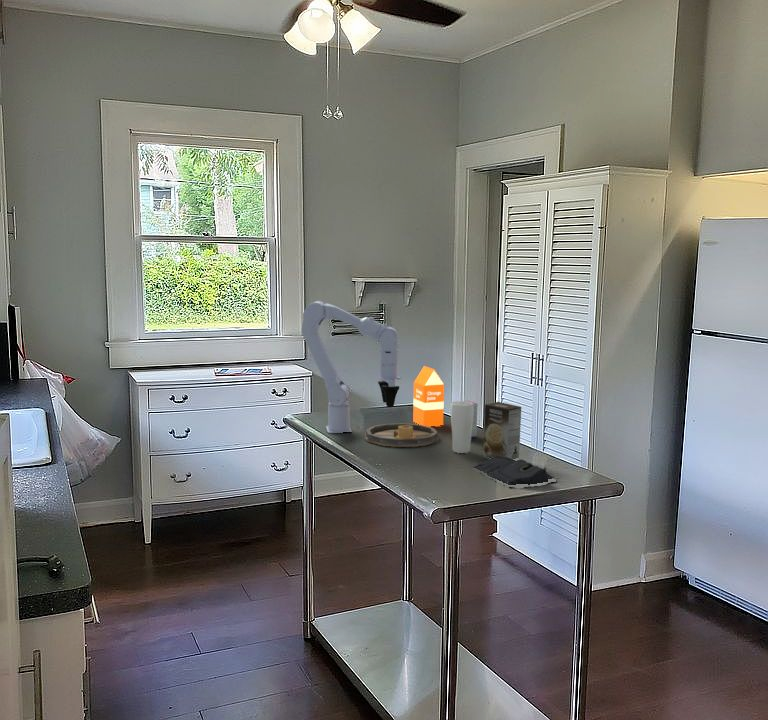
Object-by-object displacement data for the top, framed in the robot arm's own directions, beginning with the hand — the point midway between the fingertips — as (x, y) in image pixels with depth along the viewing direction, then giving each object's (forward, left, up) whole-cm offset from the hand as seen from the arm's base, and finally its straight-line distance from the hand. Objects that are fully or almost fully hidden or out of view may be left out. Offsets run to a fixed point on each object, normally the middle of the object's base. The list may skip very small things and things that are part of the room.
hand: (388, 404), depth 260 cm
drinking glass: (+28, +18, -10) cm, 35 cm away
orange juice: (-11, +16, -10) cm, 22 cm away
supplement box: (+9, +24, -10) cm, 27 cm away
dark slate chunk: (+54, +26, -10) cm, 61 cm away
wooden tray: (+9, +3, -9) cm, 13 cm away
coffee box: (+37, +28, -10) cm, 47 cm away
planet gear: (+15, +3, -9) cm, 18 cm away
